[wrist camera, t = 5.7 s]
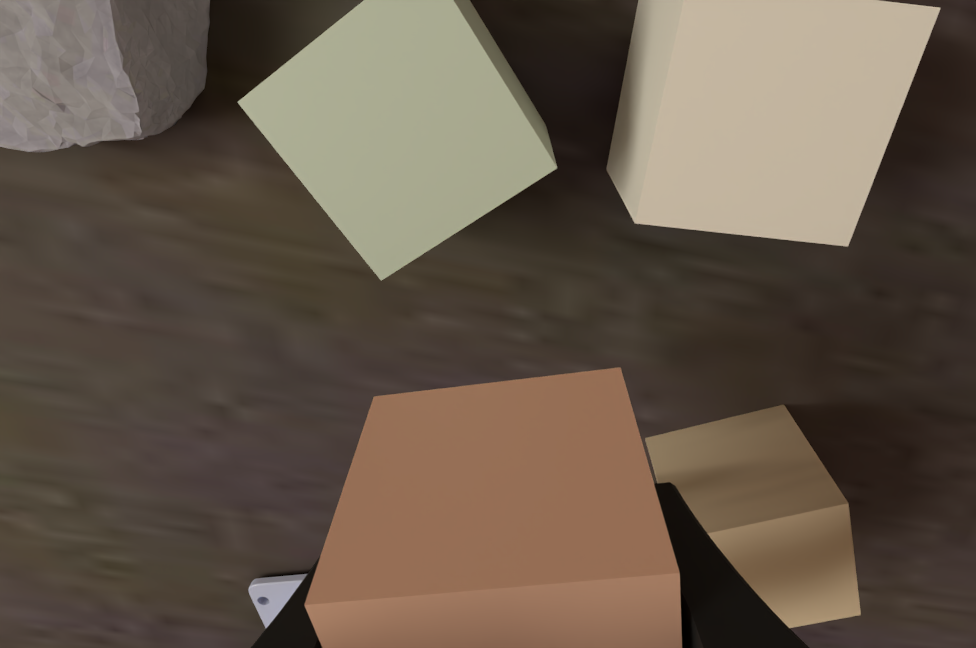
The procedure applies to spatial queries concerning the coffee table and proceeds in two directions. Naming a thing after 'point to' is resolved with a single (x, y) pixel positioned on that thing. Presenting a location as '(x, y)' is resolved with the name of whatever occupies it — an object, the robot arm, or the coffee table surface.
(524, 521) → the terracotta cube
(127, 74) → the stone block
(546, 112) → the coffee table surface
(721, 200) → the cream cube
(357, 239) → the sage cube
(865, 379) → the coffee table surface
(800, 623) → the maple cube
